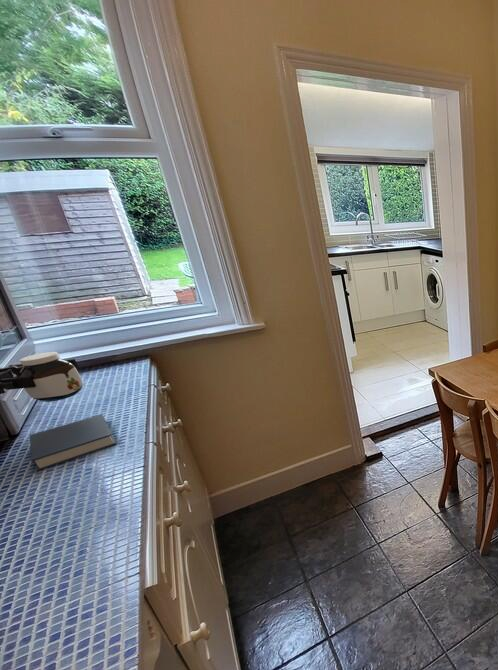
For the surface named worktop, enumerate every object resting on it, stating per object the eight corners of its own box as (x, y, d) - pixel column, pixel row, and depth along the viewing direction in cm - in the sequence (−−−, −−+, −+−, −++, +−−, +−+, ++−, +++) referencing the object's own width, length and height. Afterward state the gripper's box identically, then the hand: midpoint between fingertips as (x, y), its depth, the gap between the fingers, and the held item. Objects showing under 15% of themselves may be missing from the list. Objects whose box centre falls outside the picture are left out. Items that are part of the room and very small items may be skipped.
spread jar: (53, 404, 106) (29, 362, 101) (15, 405, 107) (-11, 363, 103) (99, 385, 117) (79, 346, 112) (64, 386, 118) (43, 347, 113)
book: (35, 445, 106) (29, 435, 105) (107, 423, 116) (102, 413, 114) (38, 470, 95) (30, 460, 94) (116, 444, 104) (111, 434, 103)
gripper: (20, 375, 120) (98, 368, 122) (-80, 414, 98) (17, 405, 100) (6, 351, 117) (86, 344, 119) (-101, 385, 95) (0, 377, 97)
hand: (55, 372), depth 109 cm, fingers closed on spread jar, 12 cm apart
